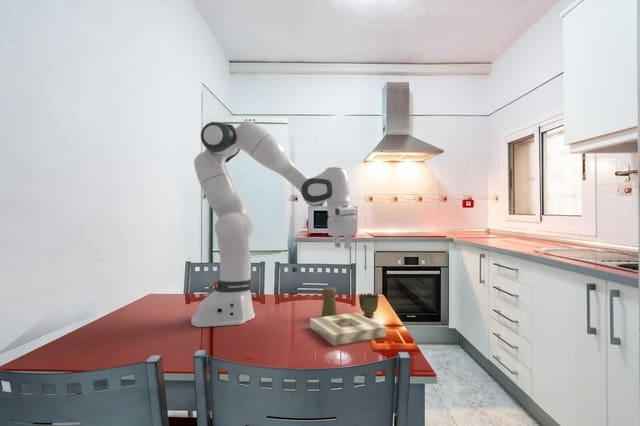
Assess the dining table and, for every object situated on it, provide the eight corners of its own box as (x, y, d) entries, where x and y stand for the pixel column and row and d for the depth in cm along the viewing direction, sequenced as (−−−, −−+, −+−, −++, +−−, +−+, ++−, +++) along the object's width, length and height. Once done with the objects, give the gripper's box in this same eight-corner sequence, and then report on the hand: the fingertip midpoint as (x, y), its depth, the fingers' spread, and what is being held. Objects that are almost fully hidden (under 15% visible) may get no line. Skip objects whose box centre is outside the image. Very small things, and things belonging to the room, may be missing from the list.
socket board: (333, 345, 96) (333, 335, 96) (310, 327, 112) (310, 318, 113) (385, 336, 103) (385, 327, 103) (356, 320, 120) (356, 312, 120)
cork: (326, 320, 120) (326, 289, 120) (318, 316, 126) (318, 286, 126) (340, 318, 123) (340, 288, 123) (332, 314, 128) (332, 285, 129)
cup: (378, 319, 121) (378, 297, 121) (358, 318, 122) (357, 296, 123) (379, 314, 128) (378, 293, 128) (359, 313, 130) (359, 292, 130)
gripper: (322, 212, 133) (325, 247, 133) (342, 209, 114) (345, 250, 113) (337, 211, 135) (339, 245, 135) (358, 208, 116) (362, 248, 115)
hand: (342, 248), depth 124 cm, fingers open, 8 cm apart
